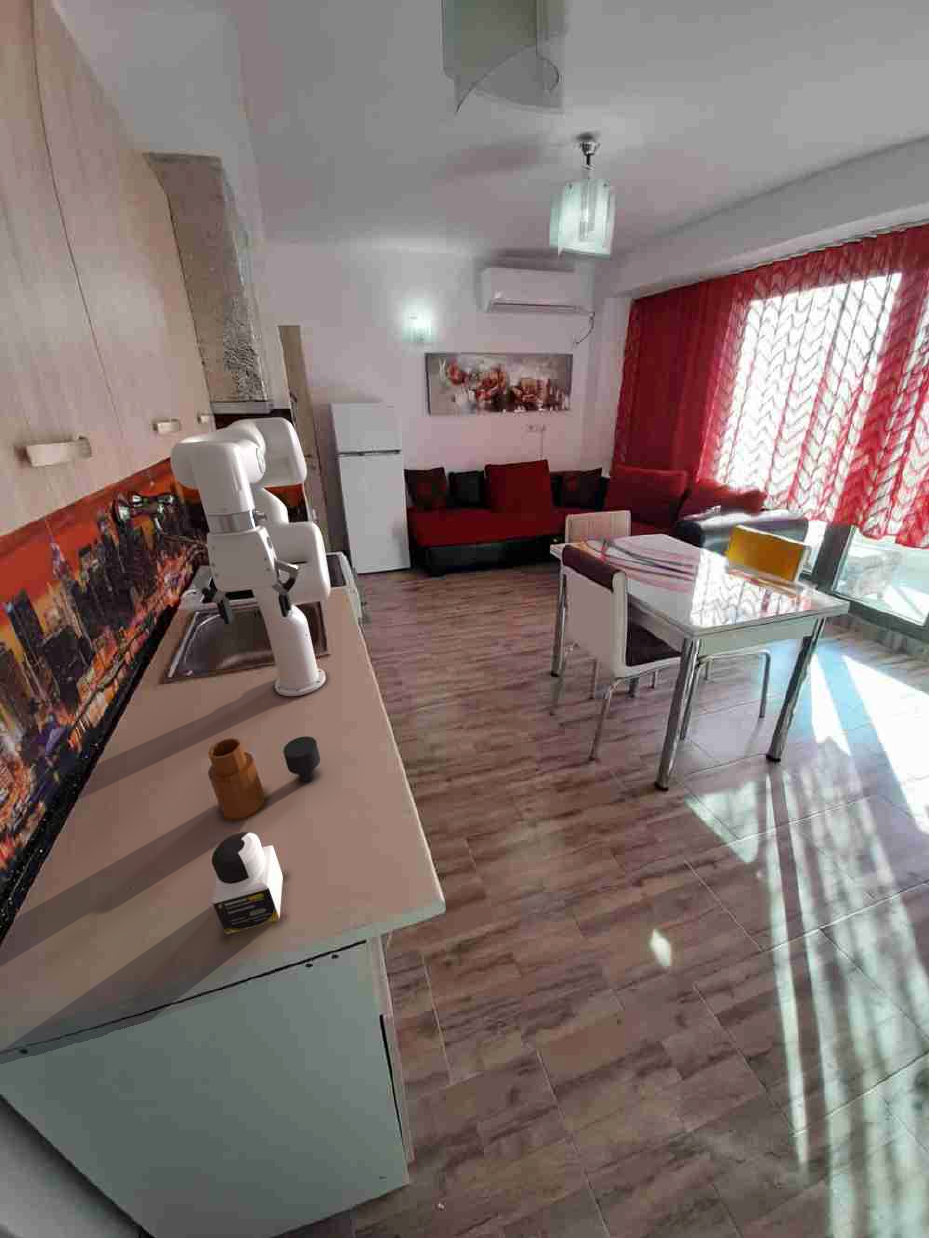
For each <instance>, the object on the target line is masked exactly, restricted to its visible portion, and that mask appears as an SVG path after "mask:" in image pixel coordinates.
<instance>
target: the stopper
mask: <svg viewBox="0 0 929 1238" xmlns="http://www.w3.org/2000/svg"><path fill="white" fill-rule="evenodd" d="M282 754H283V756H284V759H285V763H286V766H287V770H288V771H289V773H291V774H293V775H298V779H299V781H300V782H302V783H309V782H312V781H313V780H314V779H315V778H316V777H317V776H316V770H315V769H316V768H317V767H318V766H319V764H320V763H321V755H320V751H319V747H318V743H317V741H316V739H315V737H312V736H308V735H307V736H299V737H295V738H293V739H291V740H289V741H288V742H287V743H286V744H285V746H284V748H283V751H282Z"/></svg>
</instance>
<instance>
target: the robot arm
mask: <svg viewBox="0 0 929 1238" xmlns="http://www.w3.org/2000/svg"><path fill="white" fill-rule="evenodd" d="M170 466H171V470H172V473H173V475H174V477H175V479H176V480H177V481H178V482H179V484H181V485H182V486H183V487H185V488H187V489H192V490H197V491H198V494H199V498H200V501H201V505H202V508H203V511H204V515H205V519H206V523H207V526H208V529H209V532H208V533H206V542H207V543H206V545H207V556H208V561H209V568H208V569H206V570H205V571H204V572H202V573H200V574H199V575H197V576H196V577H195V578H194V579H192V584H193V585H194V586H195V588H197V589H198V590H199V592H201V594H202V596H204V597H206V598H208V599H209V600H211V601H212V603H213V604H215V605H216V607H217V610H218V613H219V617H220V620H223V622H224V625H230V624H231V623H232V622H233V620H234V618H235V616H234V612H233V609H232V605H231V602H230V599H229V598H228V596H227V597H226V595H227V593H233V592H240V591H242V592H243V591H252V594H253V597H254V600H255V601H256V603H257V606H258V608H259V610H260V612H261V615H262V618H263V621H264V625H265V628H266V632H267V636H268V641H269V644H270V647H271V652H272V655H273V660H274V663H275V667H276V670H277V674H278V678H277V679H276V680H275V682H274V689H275V691H276V692H277V694H279V695H281V696H285V697H298V696H303V695H307V694H310V693H312V692H314V691H316V690H317V689H318V690H319V688H321V686H323V685H324V683H325V682H326V679H327V678H326V674H325V671H324V670H323V669H322V668H319V667H318V665H317V661H316V656H315V651H314V650H315V649H314V646H313V642H312V637H311V632H310V628H309V623H308V620H307V617H306V616H305V613H303V612H302V611H301V609H299V608H298V607H297V605H303V604H304V605H305V604H312V603H317V602H322V601H325V600H327V599H328V598H329V596H330V594H331V579H330V572H329V568H328V561H327V560H328V559H327V555H326V550H325V549H326V548H325V543H324V539H323V538H324V537H323V535H322V532H321V530H320V528H319V526H318V525H317V524H316V523H314V522H313V521H312V522H311V521H297V522H290V521H289V515H288V509H287V506H286V505H285V504H284V503H283V501H281V500H280V499H279V498H278V497H277V496H275V495H274V494H273V493H271V492H269V491H268V490H267V489H265V488H274V487H275V488H276V487H287V486H295V485H296V486H297V485H300V484H302V483H304V482H305V481H306V479H307V474H308V469H307V463H306V459H305V456H304V452H303V450H302V446H301V442H300V440H299V437H298V434H297V432H296V429H295V428H294V426H293V424H292V423H291V422H290V421H289V420H287V419H286V418H284V417H281V416H280V417H277V416H276V417H261V418H246V419H238V420H236V421H234V422H232V423H231V424H229V425H228V426H227V427H223V428H219V429H215V430H212V431H209V432H204V433H200V434H195V435H191V436H188V437H187V436H186V437H185V438H182V439H180V440H178V441H177V442H176V443H174V445H173V446H172V448H171V452H170ZM301 562H302V563H301ZM303 562H304V563H303ZM293 563H296V564H293ZM211 578H212V580H213V583H214V586H215V588H216V589H215V588H213V587H211V586H209V585H208V583H207V581H208V580H210V579H211Z"/></svg>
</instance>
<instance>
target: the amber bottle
mask: <svg viewBox="0 0 929 1238" xmlns="http://www.w3.org/2000/svg"><path fill="white" fill-rule="evenodd" d="M207 753H208V757H209V760H210V763H211V765H210V767H209V769H208V771H207V775H208V778H209V780H210V784H211V786H212V789H213V792H214V794H215V797H216V800H217V802H218V805H219V807H220V811H221V813H222V814H223V816H224V817H225V818H226V819H229V820H241V819H244V818H247V817H249V816H251V815H253V814H254V813H256V812H257V811H258V810H259V809H260V808H261V807H262V805H263V804H264V802H265V797H266V795H265V792H264V789H263V786H262V783H261V779H260V776H259V773H258V770H257V767H256V764H255V761H254V758H253V755H252V754H250V753H249V752H246V751H244V748H243V745H242V743H241V741H240V739H239V738H233V737H230V738H225V739H222V740H220V741H217V742H215V744H213V745H212V746H211V747H210V748H209V750H208V752H207Z"/></svg>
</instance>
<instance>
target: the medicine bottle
mask: <svg viewBox="0 0 929 1238" xmlns="http://www.w3.org/2000/svg"><path fill="white" fill-rule="evenodd" d="M277 857H278V856H277V854H276V851H275V848H274V846H273V845H271V844H270V845H267V846H263V847H262V843H261V841H260V838H259V837H258V835H257V834H255V833H253V832H248V831H243V832H242V831H241V832H237V833H234V834H231V835H230V836H228V837H226V838H225V839H224V840H222V841H221V842H220V843H219V844H218V845H217V847H216V848H215V850H214V851H213V853H212V856H211V864H212V866H213V867H212V868H213V869H214V871H215V875H216V876H217V878H216V882H215V886H214V891H213V895H212V900H211V902H212V905H213V907H214V910H215V912H216V914H217V917H218V919H219V921H220V923H221V926H222V928H223V930H224V933H225V934H226V935H230V934H234V933H237V932H241V931H243V930H247V929H251V928H255V927H259V926H261V925H266V924H268V923H271V922H272V923H273V922H275V921H278V920H279V919H280V916H281V907H282V906H281V905H282V894H283V893H282V892H283V891H282V890H283V882H284V881H283V879H284V875H283V873H282V870H281V869H282V868H281V865H280V863H279V860H278V858H277Z"/></svg>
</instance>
